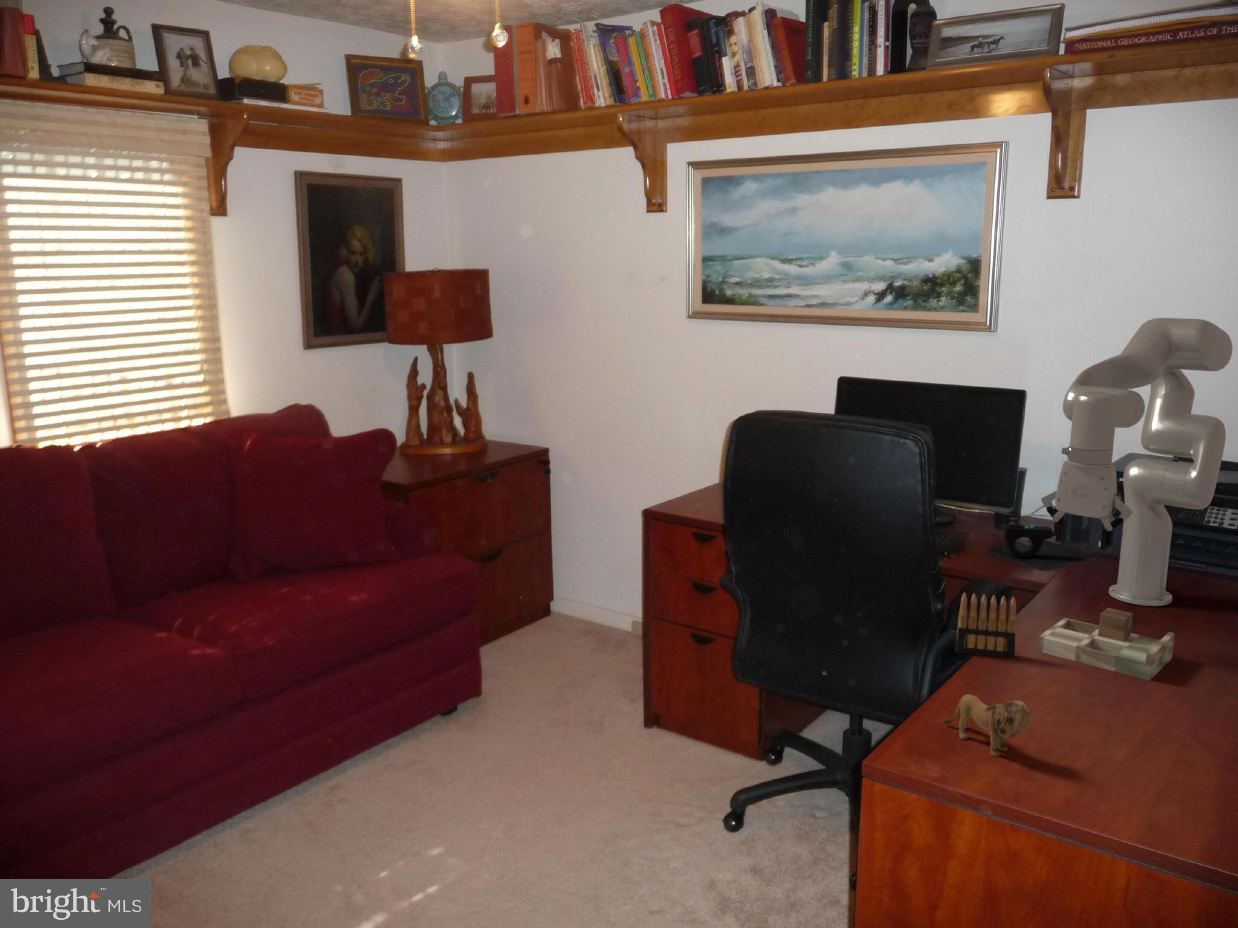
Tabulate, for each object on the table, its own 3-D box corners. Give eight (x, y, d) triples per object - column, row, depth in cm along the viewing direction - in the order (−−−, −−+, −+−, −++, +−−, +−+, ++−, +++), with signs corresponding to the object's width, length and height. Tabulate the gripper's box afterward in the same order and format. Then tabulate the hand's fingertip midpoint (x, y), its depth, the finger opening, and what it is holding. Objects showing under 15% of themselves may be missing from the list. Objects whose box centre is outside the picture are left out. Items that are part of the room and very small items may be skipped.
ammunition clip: (1013, 654, 186) (1018, 595, 184) (1014, 658, 185) (1019, 598, 182) (955, 648, 189) (959, 590, 187) (955, 652, 188) (959, 593, 185)
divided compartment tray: (1063, 631, 198) (1065, 608, 197) (1171, 657, 184) (1174, 633, 183) (1037, 651, 188) (1039, 626, 187) (1149, 680, 174) (1152, 654, 173)
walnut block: (1105, 629, 191) (1107, 607, 190) (1130, 635, 188) (1132, 613, 187) (1097, 635, 188) (1100, 613, 187) (1122, 641, 185) (1125, 619, 184)
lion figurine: (1035, 756, 148) (1040, 701, 146) (1015, 766, 145) (1020, 711, 143) (953, 720, 160) (956, 669, 158) (933, 729, 157) (936, 677, 155)
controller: (998, 552, 252) (1001, 515, 250) (1049, 555, 249) (1053, 518, 247) (1001, 557, 248) (1004, 519, 246) (1052, 560, 245) (1056, 522, 243)
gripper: (1036, 453, 189) (1029, 540, 193) (1133, 465, 177) (1123, 557, 181) (1051, 448, 194) (1043, 532, 198) (1145, 459, 183) (1136, 549, 186)
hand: (1082, 544), depth 189 cm, fingers open, 7 cm apart
